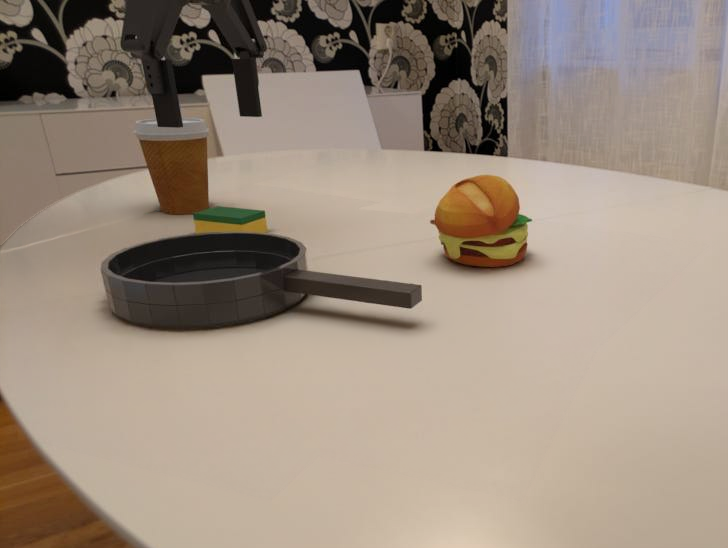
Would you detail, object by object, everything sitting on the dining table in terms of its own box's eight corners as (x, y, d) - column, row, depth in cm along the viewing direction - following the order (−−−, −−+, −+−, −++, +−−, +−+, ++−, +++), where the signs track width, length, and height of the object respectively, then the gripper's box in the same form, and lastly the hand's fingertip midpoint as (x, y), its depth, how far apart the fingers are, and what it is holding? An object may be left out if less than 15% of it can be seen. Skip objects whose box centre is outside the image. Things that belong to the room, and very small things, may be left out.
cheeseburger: (548, 251, 77) (544, 167, 71) (504, 298, 70) (496, 209, 64) (472, 238, 81) (463, 158, 75) (424, 280, 74) (409, 196, 68)
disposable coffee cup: (191, 200, 102) (177, 116, 97) (235, 207, 97) (222, 120, 92) (134, 211, 94) (115, 121, 89) (178, 220, 90) (161, 125, 85)
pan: (64, 315, 57) (52, 270, 56) (203, 262, 72) (197, 225, 71) (230, 343, 52) (223, 295, 51) (343, 280, 67) (340, 241, 65)
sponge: (196, 237, 82) (192, 213, 80) (221, 229, 85) (217, 205, 84) (244, 243, 79) (241, 218, 78) (267, 234, 83) (264, 210, 82)
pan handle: (284, 291, 58) (282, 276, 57) (299, 284, 60) (297, 269, 59) (411, 309, 54) (410, 292, 54) (422, 300, 56) (422, 284, 56)
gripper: (107, -131, 56) (158, 133, 65) (282, -81, 78) (302, 113, 87) (41, -124, 59) (99, 131, 68) (228, -77, 80) (254, 112, 89)
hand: (213, 121), depth 77 cm, fingers open, 13 cm apart
